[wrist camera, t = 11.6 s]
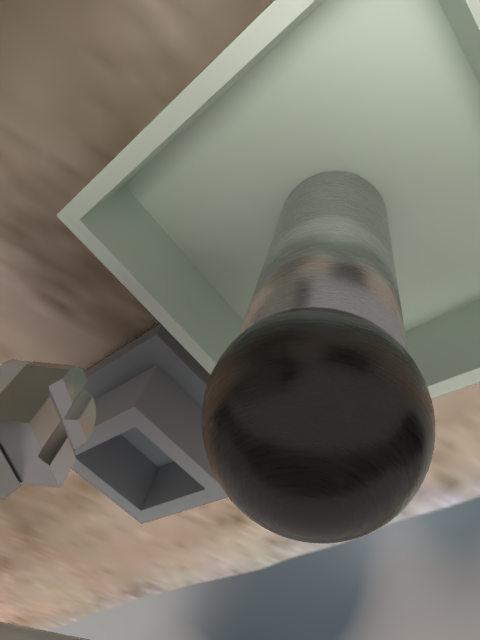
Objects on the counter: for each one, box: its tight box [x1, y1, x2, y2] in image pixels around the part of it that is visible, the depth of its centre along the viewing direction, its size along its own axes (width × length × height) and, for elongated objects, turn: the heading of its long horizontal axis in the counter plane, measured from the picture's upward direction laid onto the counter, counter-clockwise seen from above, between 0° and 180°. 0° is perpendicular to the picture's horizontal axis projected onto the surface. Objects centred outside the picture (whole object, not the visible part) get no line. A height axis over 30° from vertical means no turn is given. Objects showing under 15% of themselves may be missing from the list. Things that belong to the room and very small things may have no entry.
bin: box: [56, 0, 480, 399], centre depth 16 cm, size 13×13×4 cm
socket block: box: [71, 323, 228, 524], centre depth 25 cm, size 10×10×4 cm
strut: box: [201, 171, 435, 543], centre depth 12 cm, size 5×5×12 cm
